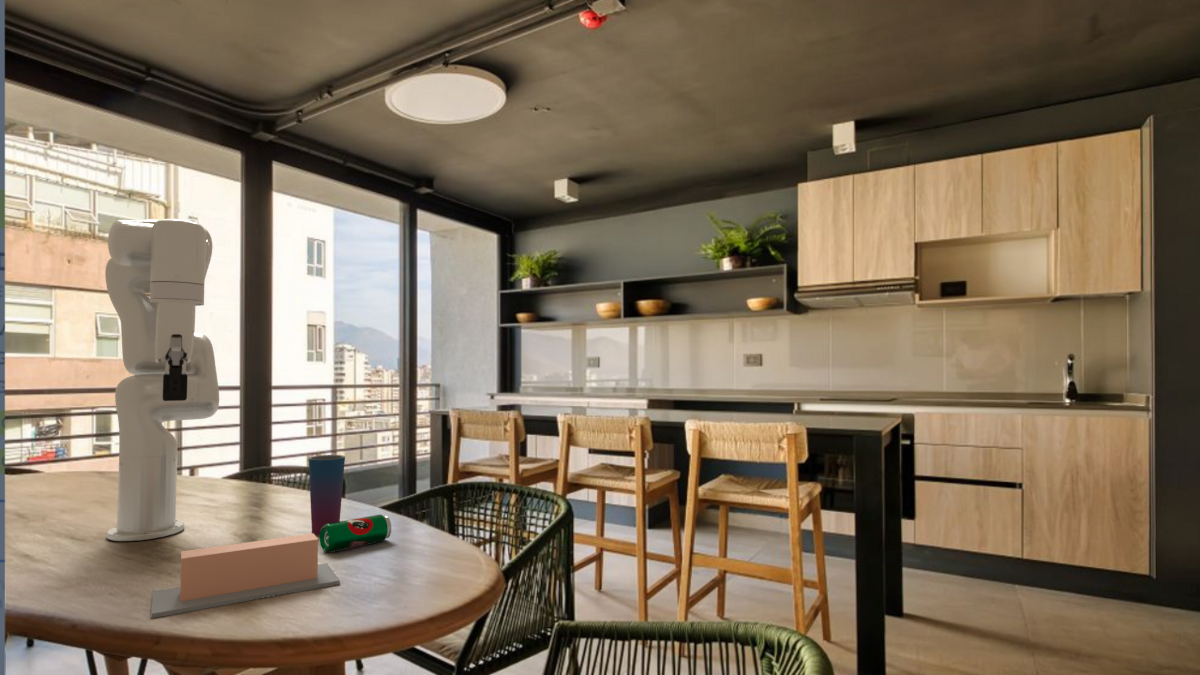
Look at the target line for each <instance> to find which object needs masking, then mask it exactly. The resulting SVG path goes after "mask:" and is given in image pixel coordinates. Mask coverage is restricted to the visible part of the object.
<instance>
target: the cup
mask: <svg viewBox="0 0 1200 675" xmlns="http://www.w3.org/2000/svg"><path fill="white" fill-rule="evenodd" d="M345 462H346V456H345V455H341V454H323V455H321V454H320V455H313V456H310V457H308V474H309V475H308V476H309V478H308V479H309V496H310V497H309V500H310V516H311V517H310V518H311V519H310V520H311V534H313V533H314V535H315V536H320V531H321V528H322V527H323V526H324V525H325V524H329V523H335V522H340V521H341V510H342V498H343V486H344V473H345V464H346V463H345Z"/></svg>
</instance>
